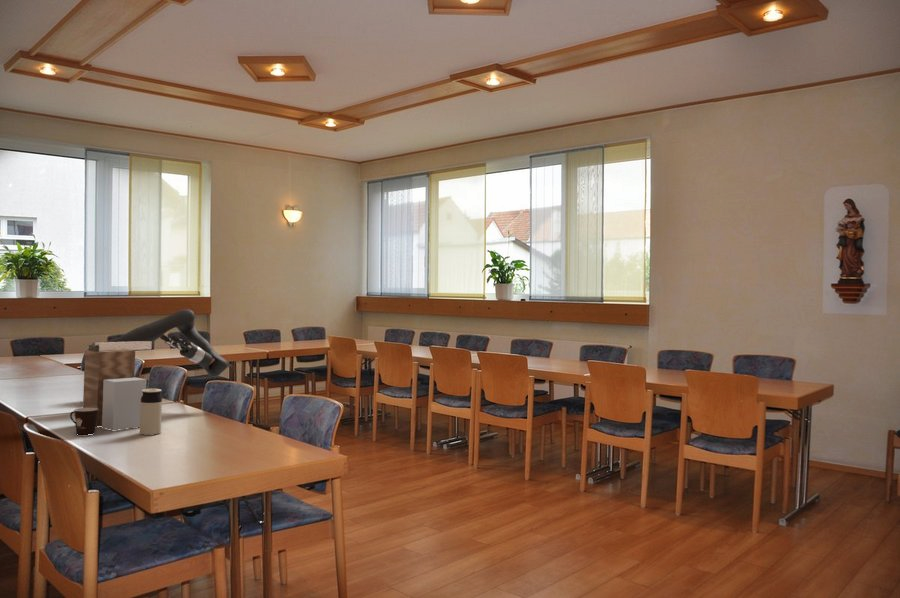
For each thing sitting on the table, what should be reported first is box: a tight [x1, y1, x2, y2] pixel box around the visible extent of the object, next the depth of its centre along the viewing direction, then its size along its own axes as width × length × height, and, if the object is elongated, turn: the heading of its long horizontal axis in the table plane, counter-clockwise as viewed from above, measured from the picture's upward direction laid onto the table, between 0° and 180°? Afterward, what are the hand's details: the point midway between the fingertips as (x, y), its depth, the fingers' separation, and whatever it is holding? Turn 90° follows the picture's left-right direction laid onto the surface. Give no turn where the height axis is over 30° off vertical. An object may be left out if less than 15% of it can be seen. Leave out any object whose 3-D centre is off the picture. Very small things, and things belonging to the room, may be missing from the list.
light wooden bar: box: [94, 341, 153, 351], centre depth 305 cm, size 24×4×4 cm, turn 144°
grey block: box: [101, 376, 148, 430], centre depth 293 cm, size 14×9×20 cm, turn 144°
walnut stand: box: [82, 344, 136, 427], centre depth 300 cm, size 16×12×34 cm
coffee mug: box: [69, 407, 98, 436], centre depth 278 cm, size 12×9×10 cm
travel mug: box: [139, 388, 163, 436], centre depth 283 cm, size 8×8×18 cm
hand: (166, 336), depth 322 cm, fingers open, 8 cm apart
